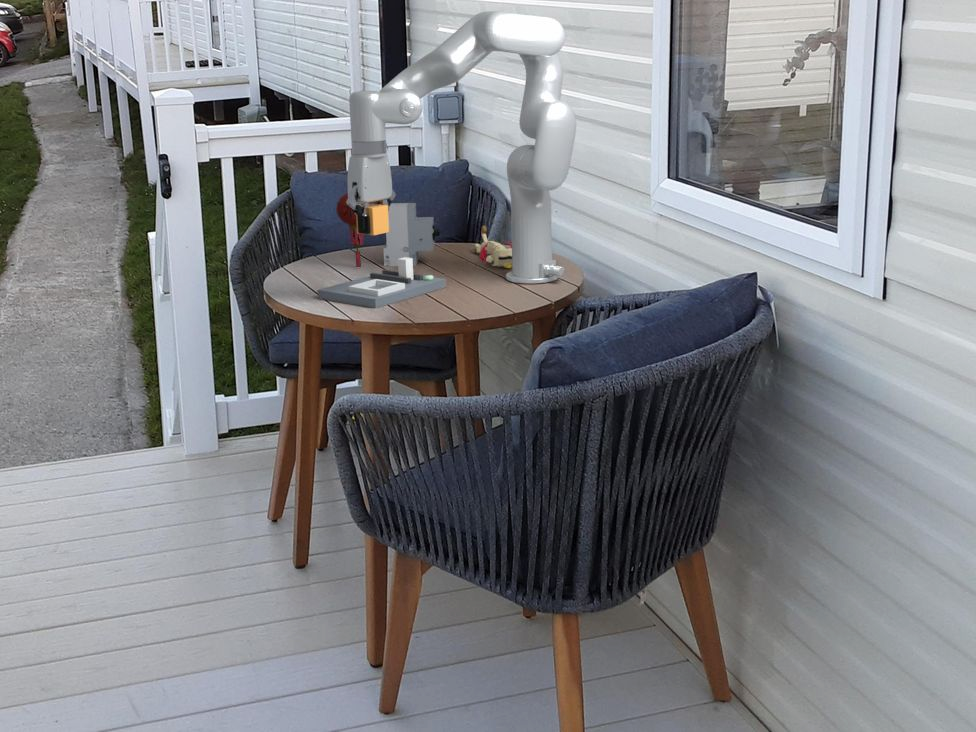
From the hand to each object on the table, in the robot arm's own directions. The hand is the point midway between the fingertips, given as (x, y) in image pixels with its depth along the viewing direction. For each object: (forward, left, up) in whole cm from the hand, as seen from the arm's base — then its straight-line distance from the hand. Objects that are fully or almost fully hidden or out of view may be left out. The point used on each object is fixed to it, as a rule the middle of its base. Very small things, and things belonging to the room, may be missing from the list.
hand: (373, 230), depth 260 cm
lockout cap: (0, 0, 0) cm, 0 cm away
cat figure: (+3, -48, -16) cm, 51 cm away
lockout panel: (+3, -5, -16) cm, 17 cm away
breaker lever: (+1, -11, -13) cm, 17 cm away
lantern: (+28, -23, -16) cm, 40 cm away
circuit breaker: (+20, -35, -16) cm, 43 cm away
